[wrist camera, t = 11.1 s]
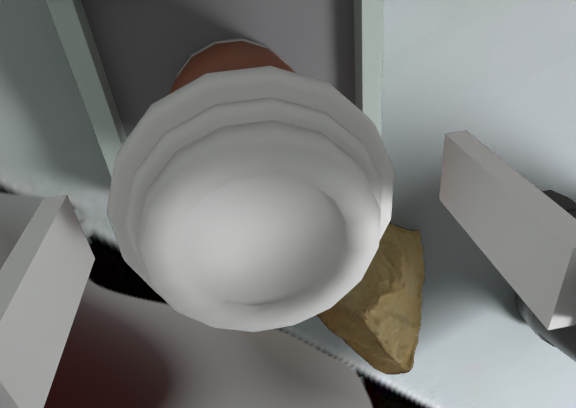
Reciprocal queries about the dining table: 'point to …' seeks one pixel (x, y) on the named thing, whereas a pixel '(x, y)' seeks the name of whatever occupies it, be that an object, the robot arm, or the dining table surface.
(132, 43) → the pale green square tray
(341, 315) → the rock
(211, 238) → the coffee cup
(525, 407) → the dining table surface
